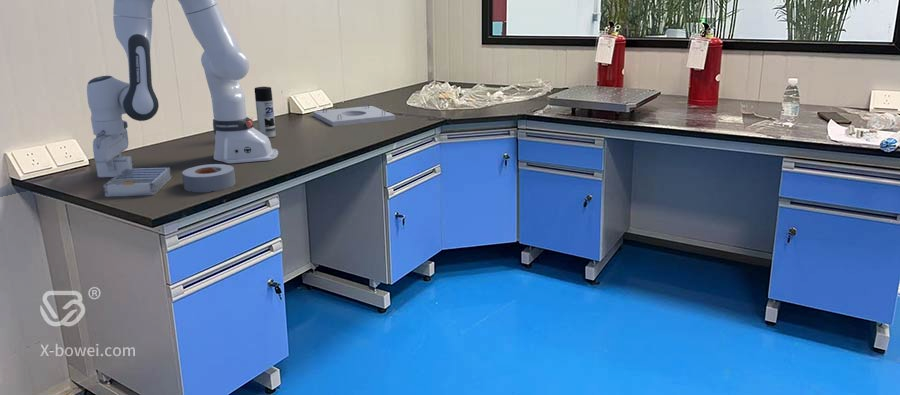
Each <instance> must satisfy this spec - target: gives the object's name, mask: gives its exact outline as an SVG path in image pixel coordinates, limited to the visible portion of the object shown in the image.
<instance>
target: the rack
mask: <svg viewBox="0 0 900 395" xmlns="http://www.w3.org/2000/svg"><path fill="white" fill-rule="evenodd" d="M172 179H173V177H172V169H171V167H149V168H148V167H147V168H145V167H144V168H143V167H141V168H133V169H124V170H123V171H121V172H120V173H119V174H118V175H116V176H115V177H111V179H110V180H109V181H107V182H106V183H104V184H103V186H102V187H103V191H104V197H106V198H107V197H108V198H109V197H131V196H132V197H135V196H136V197H138V196H140V197H141V196H142V197H143V196H155V195H157V193H158V192H160V190H161V189H162V188H164V186H166V185H167V183H168V182H169V181H170V180H172Z"/></svg>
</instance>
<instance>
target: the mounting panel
mask: <svg viewBox="0 0 900 395" xmlns="http://www.w3.org/2000/svg"><path fill="white" fill-rule="evenodd" d="M312 116H313V117H314V118H317V120H320V121H322V122H324V123H325V124H327V125H329V126H332V127H338V126H339V127H341V126H349V125H359V124H369V123H376V122H378V123H379V122H387V121H395V120H396V114H393V113H391V112H388V111H386V110H384V109H380V108H379V107H376V106H373V105H370V104H369V103H366V104H365V106H356V107H346V108H344V107H343V108H335V109H328V108H327V107H323V109H322V110H316V111H315V110H313V111H312Z"/></svg>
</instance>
